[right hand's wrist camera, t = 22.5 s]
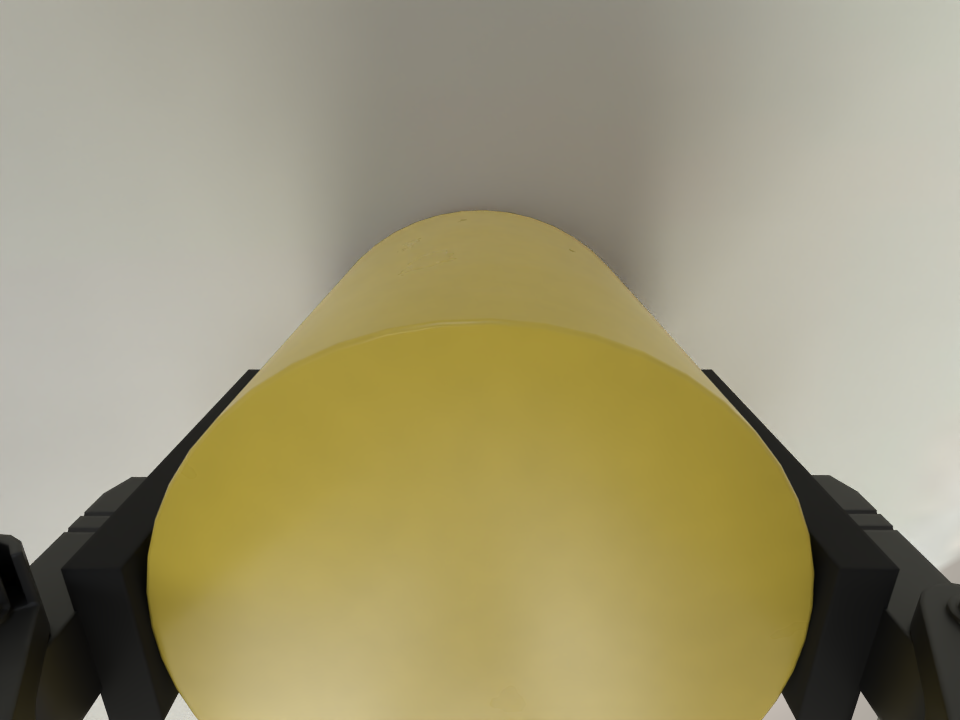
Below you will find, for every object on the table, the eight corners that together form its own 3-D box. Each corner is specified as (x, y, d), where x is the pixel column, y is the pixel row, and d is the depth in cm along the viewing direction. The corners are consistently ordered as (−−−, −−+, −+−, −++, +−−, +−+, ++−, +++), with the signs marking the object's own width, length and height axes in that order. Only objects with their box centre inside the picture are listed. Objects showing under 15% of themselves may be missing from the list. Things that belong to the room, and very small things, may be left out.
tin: (556, 141, 14) (663, 165, 6) (691, 434, 17) (892, 728, 9) (250, 313, 16) (-8, 523, 7) (422, 554, 19) (375, 900, 10)
